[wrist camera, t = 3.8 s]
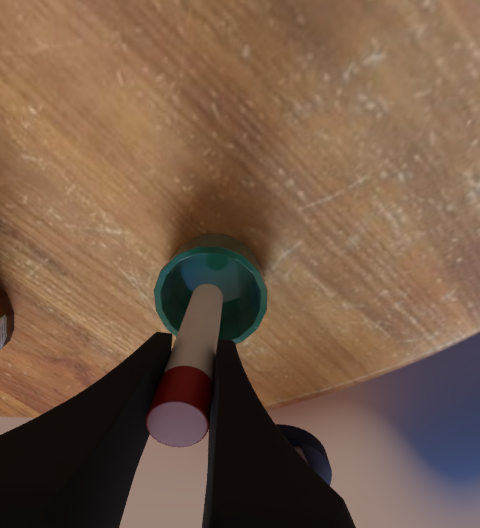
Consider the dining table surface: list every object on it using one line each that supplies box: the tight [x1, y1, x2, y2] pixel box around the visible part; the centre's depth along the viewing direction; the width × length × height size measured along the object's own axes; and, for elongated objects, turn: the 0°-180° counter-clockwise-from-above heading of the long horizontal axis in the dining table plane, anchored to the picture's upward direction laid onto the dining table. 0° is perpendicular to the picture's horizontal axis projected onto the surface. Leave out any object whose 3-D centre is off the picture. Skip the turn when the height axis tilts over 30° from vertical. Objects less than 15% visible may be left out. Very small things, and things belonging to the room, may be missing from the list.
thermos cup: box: [154, 234, 267, 344], centre depth 18 cm, size 7×7×4 cm
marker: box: [145, 284, 223, 447], centre depth 12 cm, size 2×2×8 cm
